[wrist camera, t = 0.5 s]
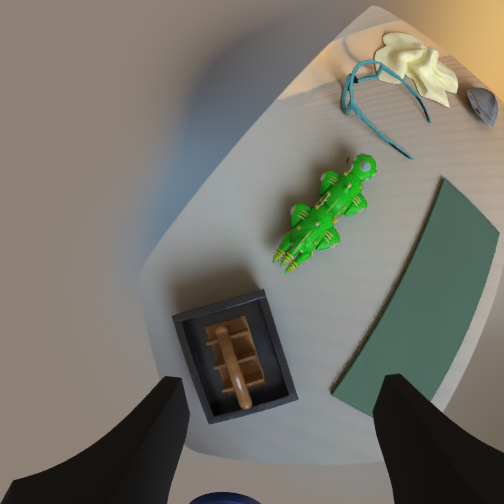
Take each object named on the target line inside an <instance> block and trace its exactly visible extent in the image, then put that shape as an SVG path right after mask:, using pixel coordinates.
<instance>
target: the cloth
mask: <svg viewBox="0 0 504 504" xmlns="http://www.w3.org/2000/svg"><path fill="white" fill-rule="evenodd" d="M383 42H384V44H385V45H386V46H385V47H383V48H381V49H379V50H377V51H376V54H375V59H374V61H378V62H382V63H383V64H384V65H385V66H387V67H388V68H389V69H391V70H392V71H393V72H395V73H396V74H397V75H398V76H400V77H401V78H402V79H403V78H404V76H405V75H406V76H408V77H409V78H411V79H413V80H414V82H415V84H416V87H417V90H418V92H419V94H420V95H421V96H424V97H425V98H429V99H432V100H434V101H436V102H438V103H440V104H442V105H444V106H446V107H448V108H449V104H448V99H447V96H446V93H445V90H447V91H449V92H452V93H457V89H458V81H457V78H456V76H455V73H454V72H453V71H452V70H451V69H449V68H448V67H447V66H445V65H444V64H443V63H441V62H440V61H438V52H437V51H436V50H435V49H432V48H429V47H428V48H425V46H424V45H423V43H422V42H421V41H420V40H419V39H418V38H416V37H415V36H413V35H410V34H405V33H398V32H393V33H389V34H385V35H384V37H383ZM375 67H376V71H378V69H379V67H380V64H375ZM378 79H379V80H382V81H385V82H389V83H393V84H401V81H399V80H398V79H396V78H394V77H392V76H390V75H389V74H388V73H387V72H385V71H384V70H382V72H381V74H380V75H379V77H378ZM444 89H445V90H444Z"/></svg>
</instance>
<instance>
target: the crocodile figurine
mask: <svg viewBox="0 0 504 504" xmlns="http://www.w3.org/2000/svg"><path fill="white" fill-rule="evenodd" d="M350 168H351V169H350V170H351V172H350V170H349V172H344V173H343V174H342V175H341V176H340V175H339V174H337V173H335V172H333V171H325V173H323V174H322V175H321V177H320V180H321V182H322V183H321V186H320V195H324V196H323V197H322V198H321V199H322V200H321V199H320V200H319V201H321V202H322V203H321V204H320V205H319V201H318V202H317V203H316V205H315V206H314V207H313V208H311V207H309V206H308V205H305V204H303V203H296V204H295V205H294V206H293V207H292V208H291V210H290V214H291V215H292V216H291V226H292V230H291V231H289V232H290V234H288V233H289V232H288V233H286V234H285V235H284V236H283V239H282V242H281V244H280V247H279V249H276V251H277V252H275V254H276V255H274V258H273V259H274V260H273V263H274V262H275V261H278V259H280V257H282V255H284V254H285V253H284V252H285V251H286V249H287V248H288V247H289V246H290V245H291V246H292V247H291V248H290V250H289V252H286V253H287V255H284V256H285V258H283V260H282V263H281V265H280V266H282V265H283V264H286V262H287V263H288V260H289V261H291V258H293V259H294V257H293V256H294V255H295V254H297V253H298V252H299V253H300V254H299V255H298V256H297V257H296V258H295V260H292V261H291V263H289V265H290V266H289V265H288V268H286V271H285V273H287V272H290V271H293V270H295V268H298V265H299V264H302V263H303V262H305V261H307V260H309V259H310V258H311V257H312V254H313V253H314V250H315V248H316V250H321V249H327V248H330V249H333V248H335V247H336V246H337V245H338V243H339V242H340V237H339V234H338V232H337V231H336V229H335V228H334V227H333V225H334V224H335V223H336V222H337V220H338V219H339V218H340V217H341V215H342V214H343V213H345V216H349V215H353V214H355V213H362V212H364V211H365V208H366V207H367V202H366V200H365V198H364V197H363V195H362V194H361V193H360V192H361V190H362V188H363V183H364V181H368V180H369V179H370V178H371V177H375V176H376V170H377V169H378V166H377V164H376V162H375V160H374V158H373V157H372V156H369V155H365V154H363V153H362V154H360V155H359V156H357V157H354V159H353V164H351V166H350ZM362 181H363V183H362ZM317 204H318V205H317ZM336 216H338V217H339V216H340V217H339V218H338V219H335V217H336ZM335 220H336V221H335ZM294 227H295V228H294ZM293 228H294V229H293ZM312 250H313V251H312ZM311 252H313V253H312V254H311ZM310 256H311V257H310Z"/></svg>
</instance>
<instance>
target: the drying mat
mask: <svg viewBox="0 0 504 504" xmlns="http://www.w3.org/2000/svg"><path fill="white" fill-rule="evenodd" d="M498 237H499V232H498V230H497V229H496V228H495V227H494V226H493V225H492V224H491V223H490V222H489V221H488V220H487V218H486V217H485V216H484V215H483V214H482V213H481V212H480V211H479V210H478V209H477V208H476V207H475V206H474V205H473V204H472V203H471V202H470V201H469V200H468V199H467V198H466V197H465V196H464V195H463V194H462V193H461V192H460V191H459V190H457V189H456V188H455V187H454V186H453V185H452V184H451V183H450V182H449V181H448V180H446V179H445V178H444V179H443V180H442V183H441V186H440V189H439V191H438V194H437V197H436V199H435V202H434V205H433V207H432V210H431V212H430V215H429V217H428V220H427V222H426V225H425V227H424V229H423V232H422V234H421V236H420V239H419V241H418V243H417V245H416V248H415V250H414V252H413V254H412V256H411V258H410V261H409V263H408V265H407V267H406V269H405V271H404V273H403V275H402V277H401V279H400V281H399V283H398V285H397V287H396V289H395V291H394V293H393V294H392V296H391V298H390V300H389V302H388V304H387V306H386V307H385V309H384V311H383V313H382V315H381V316H380V318H379V320H378V322H377V323H376V325H375V327H374V328H373V330H372V332H371V333H370V335H369V337H368V338H367V340H366V342H365V343H364V345H363V347H362V348H361V350H360V351H359V353H358V354H357V356H356V358H355V359H354V361H353V362H352V364H351V365H350V367H349V368H348V370H347V371H346V373H345V374H344V376H343V377H342V379H341V380H340V381H339V383H338V384H337V386H336V387H335V389H334V390H333V391H332V393H331V395H332V396H334V397H336V398H338V399H339V400H341V401H343V402H345V403H347V404H348V405H350V406H352V407H354V408H356V409H357V410H359V411H361V412H363V413H365V414H367V415H369V416H371V417H372V418H373V413H372V411H373V408H374V406H375V403H376V400H377V398H378V395H379V392H380V389H381V386H382V383H383V381H384V378H385V375H391V374H398V373H400V374H401V375H403V376H404V377H405V378H406V379H407V380H408V381H409V382H410V383H411V384H412V385H413V386H414V387H415V388H416V389H417V390H418V391H419V392H420V393H421V394H422V395H423V396H425V397H426V398H427V399H428V400H429V401H431V400H432V398H433V396H434V395H435V393H436V391H437V390H438V388H439V386H440V384H441V383H442V381H443V379H444V377H445V375H446V374H447V372H448V370H449V368H450V366H451V364H452V362H453V360H454V358H455V356H456V354H457V352H458V350H459V348H460V346H461V344H462V341H463V339H464V337H465V335H466V332H467V330H468V328H469V326H470V323H471V321H472V318H473V316H474V313H475V311H476V308H477V306H478V303H479V300H480V297H481V295H482V292H483V289H484V286H485V283H486V280H487V277H488V274H489V270H490V267H491V264H492V260H493V257H494V253H495V249H496V246H497V242H498Z"/></svg>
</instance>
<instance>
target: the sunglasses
mask: <svg viewBox="0 0 504 504" xmlns="http://www.w3.org/2000/svg"><path fill="white" fill-rule="evenodd" d="M368 63H375V64H380V67H379V69H378V71H377V73H376V75H375V76H371V77H364V78H360V79H357V78H356V76H355V74H356V72H357V71H358V69H359V68H360V67H361V66H362V65H364V64H368ZM382 70H384V71H385V72H387V73H388V74H389V75H390V76H392V77H394V78H396V79H398V80H399V81H401V82H402V83H403V84H404V85H405V86H406V87H407V88H408V89H409V91H410V92H411V93H412V94H413V95H414V96H415V97H416V98H417V100H418V101H419V103H420V104H421V106H422V108H423V110H424V113H425V115H426V117H427V120H428V122H429V123H431V120H430V118H429V115H428V112H427V109H426V107H425V105H424V103H423V101H422V100H421V98H420V97H419V95H418V94H417V93H416V92H415V91H414V90H413V89H412V88H411V87H410V86H409V85H408V84H407V83H406V82H405V81H404V80H403V79H402V78H401V77H400V76H398V75H397V74H396V73H395V72H393V71H392V70H391V69H389V68H388V67H387V66H385V65H384V64H383V63H382V62H378V61H374V60H366V61H363V62H360V63H359V64H357V65H356V66H355V68H354V69H353V71H352V74H349V75H348V77H347V79H346V83H345V87H344V92H343V96H342V106H343V110H344V113H345V114H346V115H348V114H349V112H350V110H351V109H352V110H353V111H354V112H355V114H356V115H357V116H358V118H360V119H361V120H362V121H364V122H365V123H366V124H367V125H368V126H369V127H370V128H371V129H372V130H373V131H375V132H376V133H377V134H378V136H379V137H380V138H381V139H383V140H384V141H386V142H387V143H389V144H390V145H391V146H393V147H394V148H395V149H396V150H398V151H399V152H401V153H402V154H403V155H405V156H406V157H408V158H409V159H414V158H413V157H411V156H410V155H409V154H407V153H406V152H405V151H403V150H402V149H401V148H400V147H398V146H397V145H396V144H395V143H393V142H392V141H391V140H389V139H388V138H387V137H385V136H384V135H383V134H382V133H381V132H379V131H378V130H377V129H376V128H375V127H374V126H373V125H372V124H371V123H370V121H369V120H368V119H367V118H366V117H365V116H364V114H363V113H362V112H361V111H360V109H359V108H358V107H357V105H356V104H355V103H354V96H353V89H352V88H353V83H358V82H360V81H364V80H370V79H377V78H378V77H379V75H380V74H381V72H382ZM349 82H350V83H349ZM347 90H348V91H349V93H350V101H349V103H348V105H347V108H346V106H345V97H346V93H347Z"/></svg>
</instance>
